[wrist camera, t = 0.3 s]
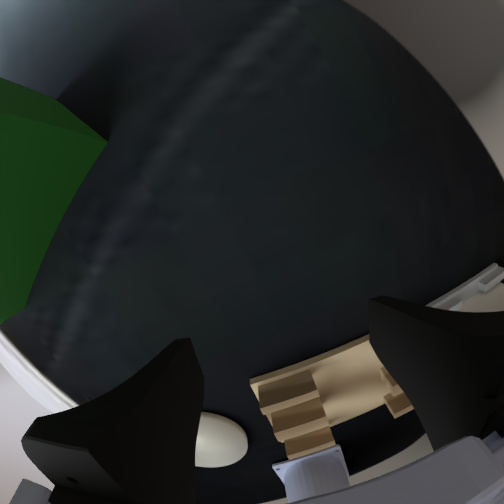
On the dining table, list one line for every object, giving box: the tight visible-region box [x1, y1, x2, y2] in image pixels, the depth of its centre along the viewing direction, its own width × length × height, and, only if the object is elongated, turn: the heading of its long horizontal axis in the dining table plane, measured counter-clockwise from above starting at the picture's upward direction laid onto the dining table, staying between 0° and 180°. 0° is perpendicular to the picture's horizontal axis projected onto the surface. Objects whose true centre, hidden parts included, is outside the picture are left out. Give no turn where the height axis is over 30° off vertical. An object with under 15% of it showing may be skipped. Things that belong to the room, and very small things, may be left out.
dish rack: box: [250, 334, 414, 460], centre depth 21 cm, size 9×16×4 cm, turn 110°
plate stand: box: [425, 263, 504, 311], centre depth 21 cm, size 5×12×2 cm, turn 110°
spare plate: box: [195, 412, 248, 467], centre depth 24 cm, size 9×9×1 cm
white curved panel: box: [459, 282, 504, 312], centre depth 19 cm, size 2×10×6 cm, turn 111°
